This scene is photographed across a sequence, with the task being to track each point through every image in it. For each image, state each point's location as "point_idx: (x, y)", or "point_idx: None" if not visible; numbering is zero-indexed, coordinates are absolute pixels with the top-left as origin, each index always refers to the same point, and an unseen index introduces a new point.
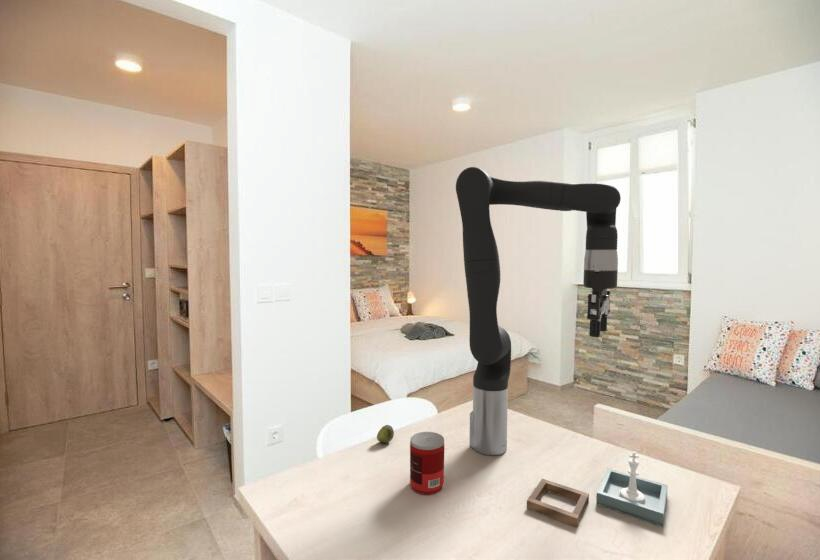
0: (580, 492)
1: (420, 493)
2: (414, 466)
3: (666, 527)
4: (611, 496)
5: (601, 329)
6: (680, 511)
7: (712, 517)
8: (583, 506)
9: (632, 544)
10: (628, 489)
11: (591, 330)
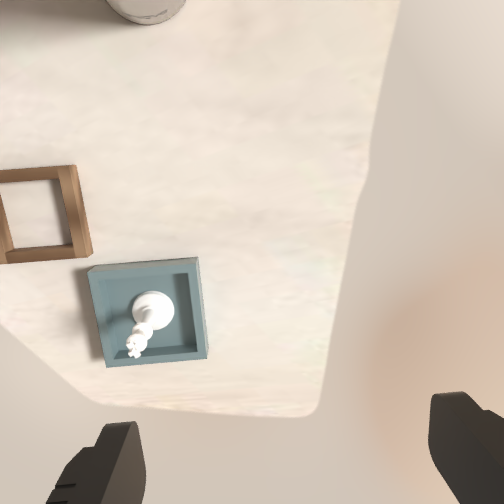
0: (79, 243)
1: None
2: None
3: None
4: (94, 295)
5: (437, 432)
6: (176, 368)
7: (192, 402)
8: (42, 260)
9: (34, 332)
10: (144, 311)
11: (57, 489)
